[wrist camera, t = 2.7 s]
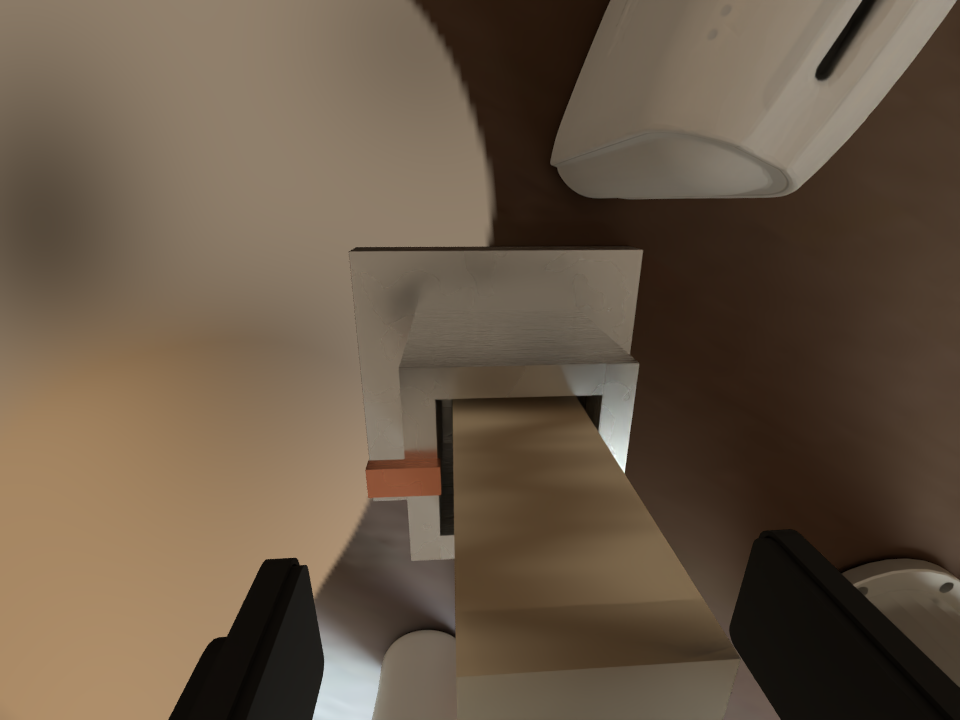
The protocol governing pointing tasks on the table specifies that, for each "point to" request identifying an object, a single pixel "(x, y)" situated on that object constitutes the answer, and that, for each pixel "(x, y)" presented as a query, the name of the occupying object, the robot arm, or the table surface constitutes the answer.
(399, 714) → the drinking glass
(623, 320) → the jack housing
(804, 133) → the photo printer
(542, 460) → the column
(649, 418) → the table surface
